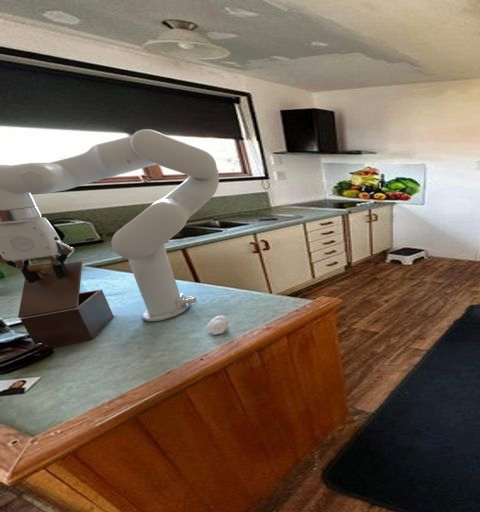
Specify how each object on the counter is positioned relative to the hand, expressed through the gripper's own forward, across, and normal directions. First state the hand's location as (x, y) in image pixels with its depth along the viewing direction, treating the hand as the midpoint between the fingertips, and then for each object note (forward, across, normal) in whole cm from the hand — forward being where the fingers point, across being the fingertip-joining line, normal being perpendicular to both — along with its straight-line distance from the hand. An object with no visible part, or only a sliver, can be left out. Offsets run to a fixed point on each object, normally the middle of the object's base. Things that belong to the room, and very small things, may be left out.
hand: (49, 278), depth 76 cm
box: (+19, 0, +1) cm, 19 cm away
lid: (+3, 0, 0) cm, 3 cm away
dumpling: (+19, +40, -18) cm, 48 cm away
